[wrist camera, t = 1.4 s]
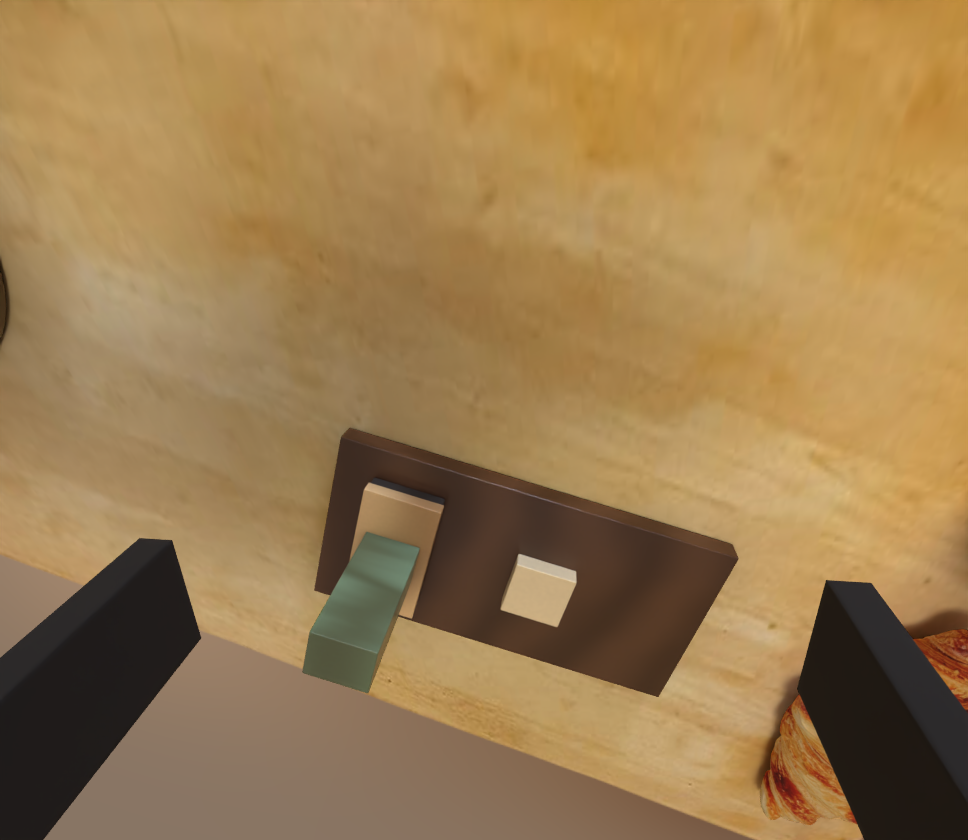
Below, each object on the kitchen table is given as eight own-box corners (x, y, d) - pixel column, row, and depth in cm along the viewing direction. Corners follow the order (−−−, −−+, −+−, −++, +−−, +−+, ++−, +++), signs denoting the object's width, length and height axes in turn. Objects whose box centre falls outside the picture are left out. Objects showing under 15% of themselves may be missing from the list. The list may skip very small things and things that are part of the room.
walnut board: (322, 577, 42) (313, 590, 41) (349, 427, 37) (340, 437, 35) (655, 680, 42) (658, 697, 40) (733, 544, 36) (739, 558, 35)
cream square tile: (502, 597, 39) (499, 610, 38) (518, 553, 37) (516, 564, 36) (557, 615, 39) (557, 627, 38) (576, 571, 37) (576, 582, 36)
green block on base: (351, 580, 40) (282, 707, 30) (372, 475, 36) (303, 582, 27) (418, 601, 40) (371, 734, 30) (447, 497, 36) (403, 613, 27)
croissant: (778, 761, 48) (854, 871, 42) (695, 775, 43) (766, 902, 37) (968, 591, 39) (1102, 701, 32) (888, 586, 34) (1026, 714, 28)
